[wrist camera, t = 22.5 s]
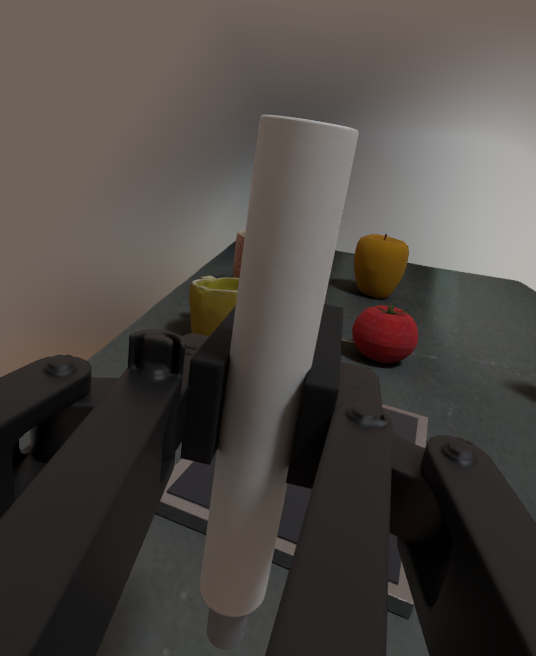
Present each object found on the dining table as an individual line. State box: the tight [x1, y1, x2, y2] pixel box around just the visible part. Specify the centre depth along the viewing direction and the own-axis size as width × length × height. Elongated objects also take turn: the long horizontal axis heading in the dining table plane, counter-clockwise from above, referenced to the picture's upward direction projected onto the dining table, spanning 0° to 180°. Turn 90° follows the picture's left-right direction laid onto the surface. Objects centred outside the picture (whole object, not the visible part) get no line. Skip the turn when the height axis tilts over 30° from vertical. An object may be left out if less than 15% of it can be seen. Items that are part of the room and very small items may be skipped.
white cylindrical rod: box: [200, 115, 359, 649], centre depth 12 cm, size 2×2×15 cm
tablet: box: [155, 404, 428, 619], centre depth 40 cm, size 18×24×1 cm
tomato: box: [352, 304, 418, 363], centre depth 64 cm, size 9×9×8 cm
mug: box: [189, 276, 239, 337], centre depth 62 cm, size 12×10×10 cm
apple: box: [354, 234, 409, 299], centre depth 96 cm, size 11×11×13 cm
